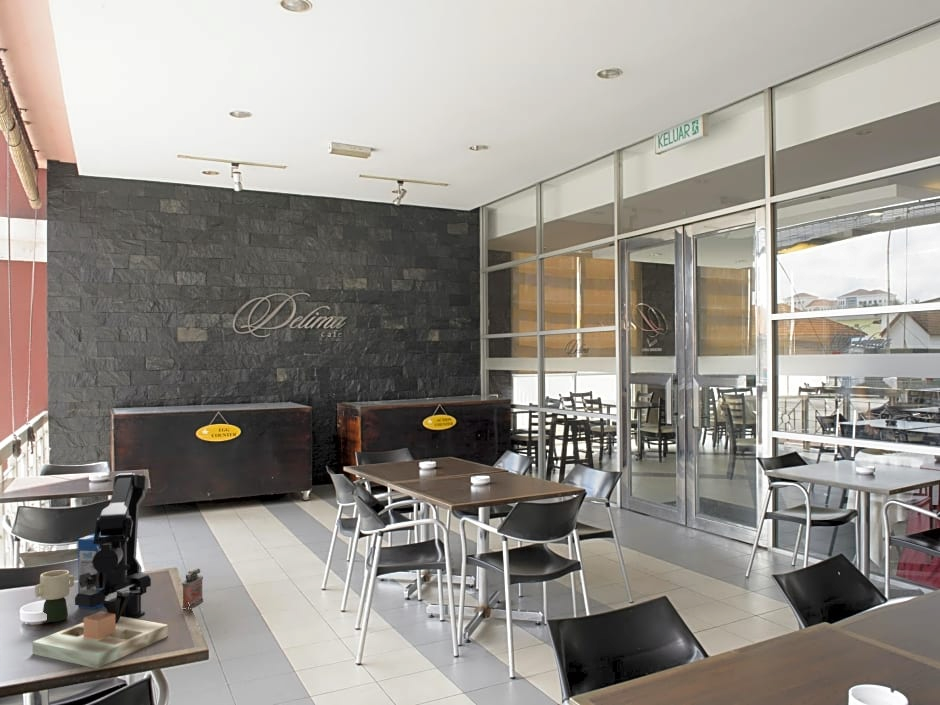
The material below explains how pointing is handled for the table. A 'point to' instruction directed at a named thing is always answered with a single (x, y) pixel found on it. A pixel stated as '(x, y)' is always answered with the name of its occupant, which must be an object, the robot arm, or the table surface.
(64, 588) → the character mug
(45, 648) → the cream flat piece
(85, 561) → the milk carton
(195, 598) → the lighter
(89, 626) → the block
